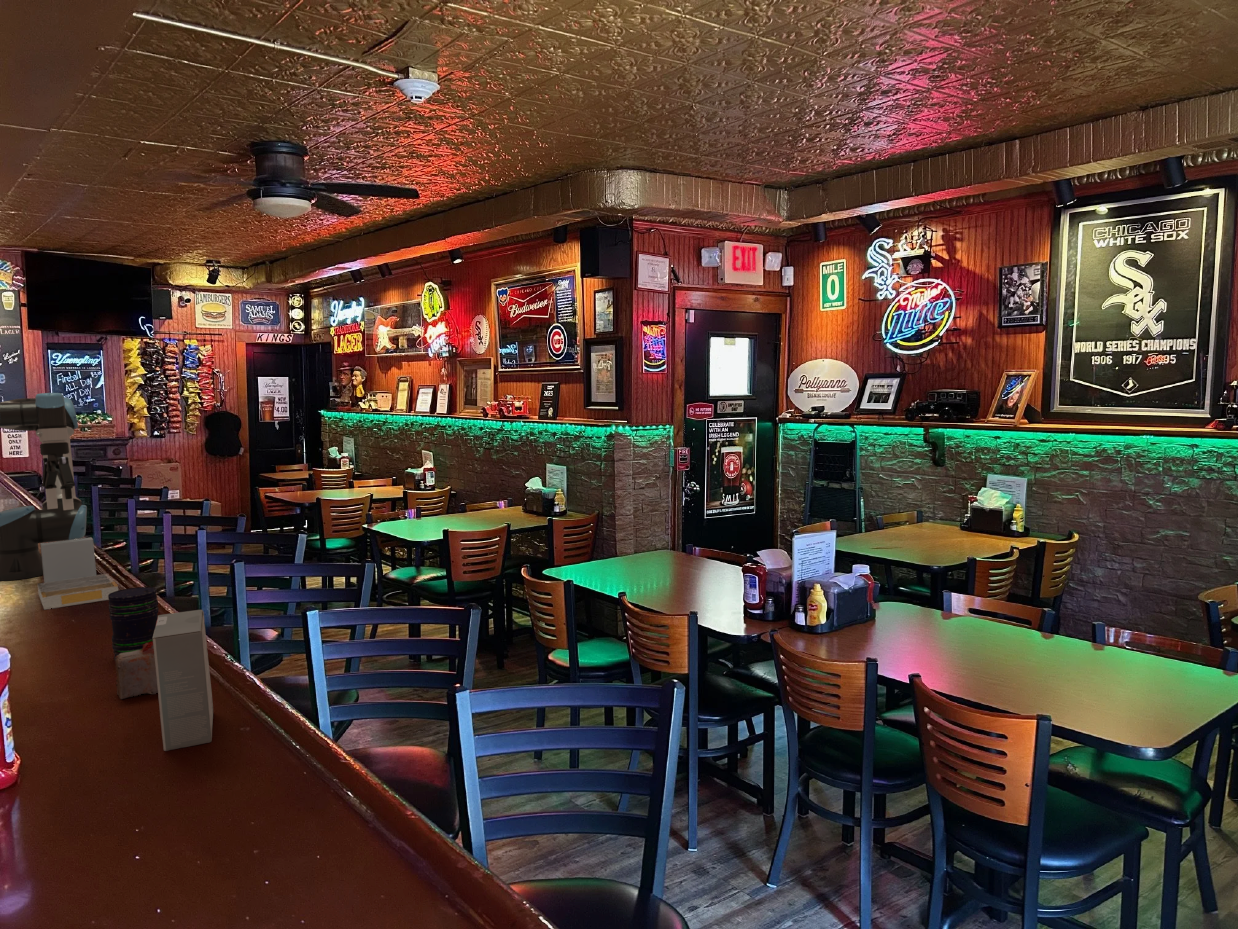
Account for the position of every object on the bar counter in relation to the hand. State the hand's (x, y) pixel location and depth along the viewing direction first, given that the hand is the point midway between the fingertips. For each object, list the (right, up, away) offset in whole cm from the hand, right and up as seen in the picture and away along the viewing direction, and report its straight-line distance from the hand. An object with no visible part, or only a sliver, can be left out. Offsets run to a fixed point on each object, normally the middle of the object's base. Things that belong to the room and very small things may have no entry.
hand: (60, 509), depth 270 cm
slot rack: (+13, -26, -12) cm, 31 cm away
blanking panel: (-1, -25, +7) cm, 25 cm away
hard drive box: (+100, -33, -119) cm, 159 cm away
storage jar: (+66, -30, -73) cm, 103 cm away
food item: (+82, -32, -96) cm, 131 cm away
